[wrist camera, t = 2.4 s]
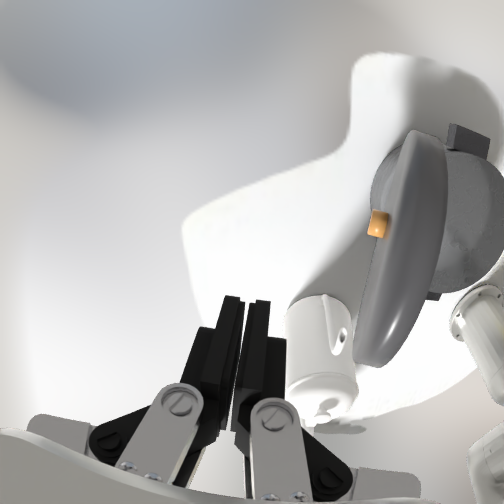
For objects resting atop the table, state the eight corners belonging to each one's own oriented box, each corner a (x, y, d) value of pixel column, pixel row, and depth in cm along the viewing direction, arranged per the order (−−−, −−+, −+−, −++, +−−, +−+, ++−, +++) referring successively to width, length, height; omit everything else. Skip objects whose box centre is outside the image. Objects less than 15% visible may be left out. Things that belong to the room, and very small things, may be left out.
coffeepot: (364, 249, 40) (403, 344, 23) (336, 368, 52) (343, 457, 35) (288, 244, 41) (284, 342, 25) (278, 366, 53) (270, 456, 36)
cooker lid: (474, 147, 8) (407, 124, 9) (359, 416, 16) (318, 405, 17) (418, 132, 22) (388, 124, 23) (376, 288, 30) (351, 281, 31)
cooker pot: (482, 140, 30) (530, 157, 20) (444, 270, 40) (474, 313, 30) (385, 107, 31) (421, 109, 21) (354, 257, 41) (370, 304, 31)
